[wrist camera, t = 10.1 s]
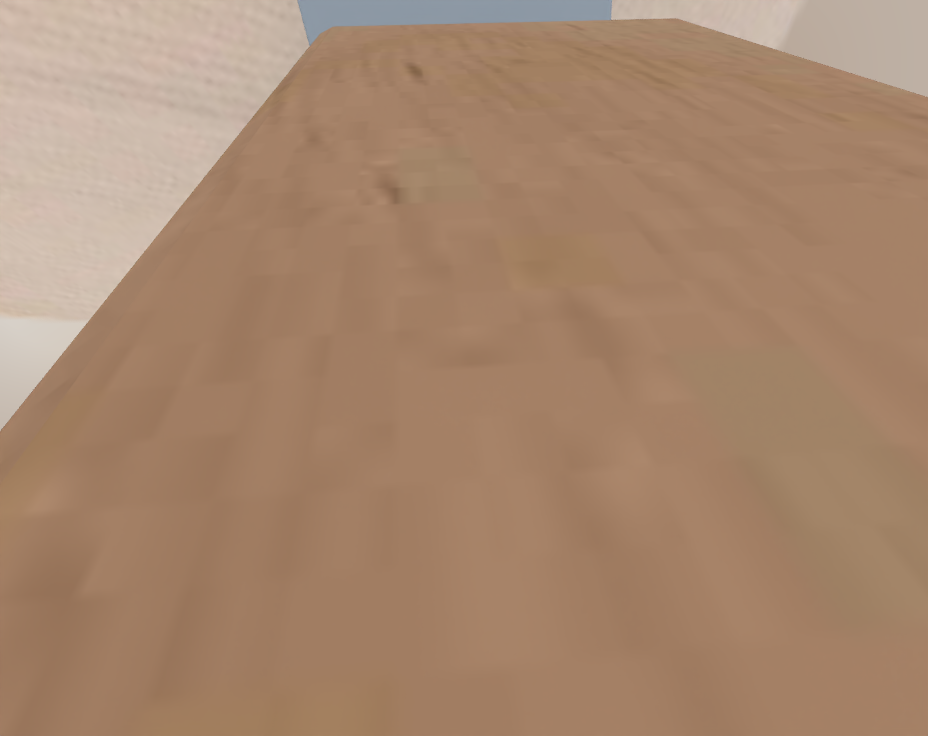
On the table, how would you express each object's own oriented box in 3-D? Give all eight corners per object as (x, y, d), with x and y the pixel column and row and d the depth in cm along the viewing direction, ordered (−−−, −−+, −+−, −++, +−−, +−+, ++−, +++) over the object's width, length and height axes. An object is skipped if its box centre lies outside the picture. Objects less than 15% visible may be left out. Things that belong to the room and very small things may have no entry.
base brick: (372, 233, 30) (368, 268, 27) (307, -26, 22) (292, -19, 19) (578, 202, 30) (598, 233, 27) (586, -68, 22) (615, -68, 19)
